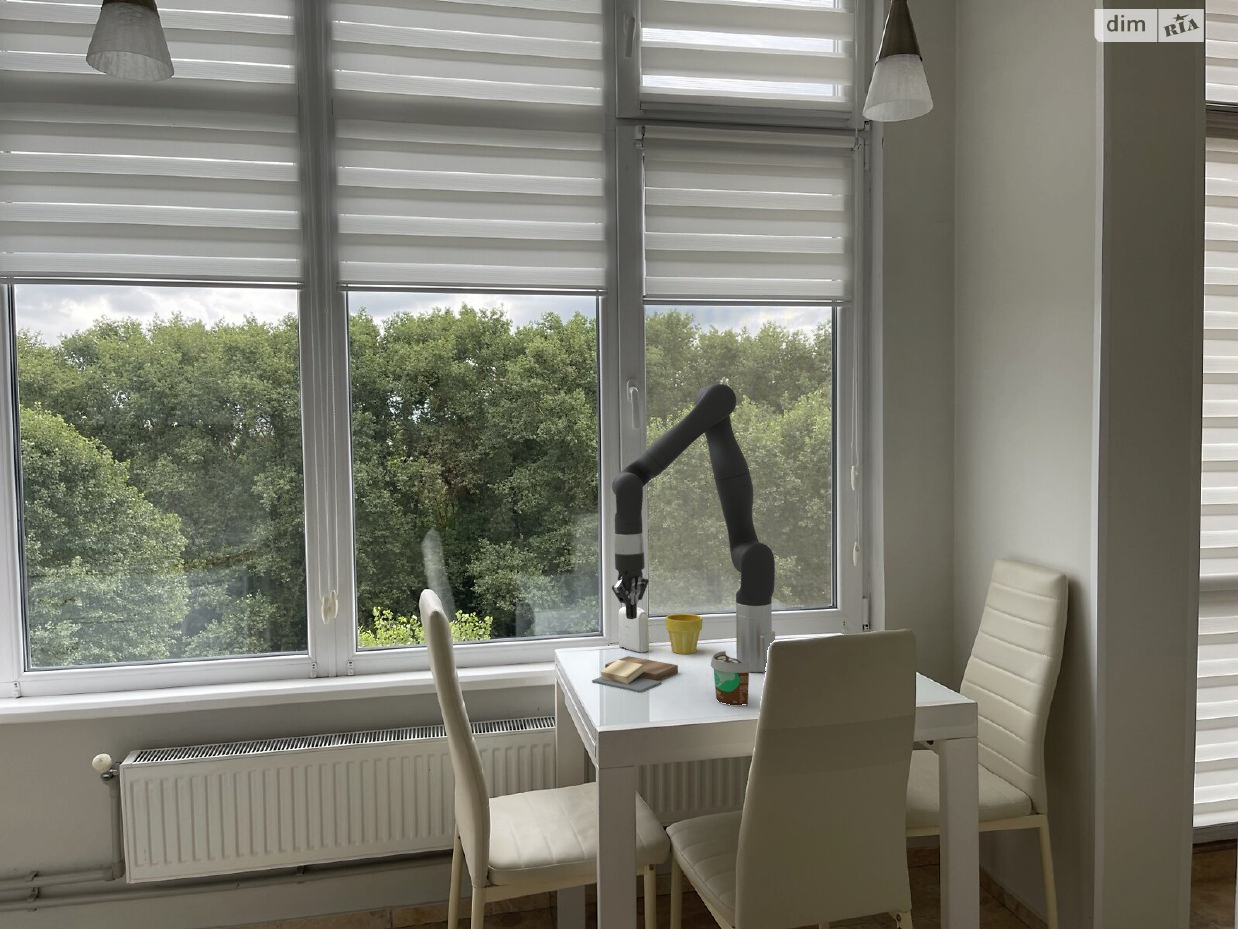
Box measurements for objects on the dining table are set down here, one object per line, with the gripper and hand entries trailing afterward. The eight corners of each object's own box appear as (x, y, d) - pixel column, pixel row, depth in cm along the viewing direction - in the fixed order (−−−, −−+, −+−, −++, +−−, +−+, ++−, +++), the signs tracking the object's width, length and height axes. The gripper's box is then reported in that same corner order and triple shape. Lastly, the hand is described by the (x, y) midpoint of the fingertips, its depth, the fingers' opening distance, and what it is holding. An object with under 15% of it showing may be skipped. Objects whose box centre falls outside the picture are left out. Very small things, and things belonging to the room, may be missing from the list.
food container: (701, 695, 202) (701, 653, 202) (725, 692, 204) (724, 650, 204) (726, 711, 191) (726, 666, 190) (751, 707, 193) (750, 663, 192)
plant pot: (701, 646, 248) (701, 613, 247) (703, 655, 238) (703, 620, 237) (665, 646, 248) (665, 613, 248) (666, 656, 238) (665, 621, 238)
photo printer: (616, 647, 249) (615, 605, 248) (627, 644, 252) (627, 602, 251) (639, 654, 241) (639, 610, 240) (651, 651, 244) (650, 608, 243)
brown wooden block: (677, 672, 221) (677, 665, 221) (655, 682, 213) (655, 674, 213) (628, 663, 231) (628, 656, 231) (605, 672, 223) (605, 664, 223)
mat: (661, 683, 212) (661, 681, 212) (640, 692, 205) (640, 690, 205) (613, 674, 221) (613, 672, 221) (592, 682, 214) (592, 680, 214)
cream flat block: (643, 671, 215) (642, 664, 215) (627, 684, 210) (626, 676, 210) (618, 666, 220) (617, 659, 220) (602, 679, 215) (600, 671, 215)
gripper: (625, 555, 210) (627, 625, 211) (656, 548, 221) (658, 615, 221) (601, 553, 215) (603, 622, 216) (633, 546, 225) (635, 612, 226)
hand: (631, 618), depth 219 cm, fingers closed
